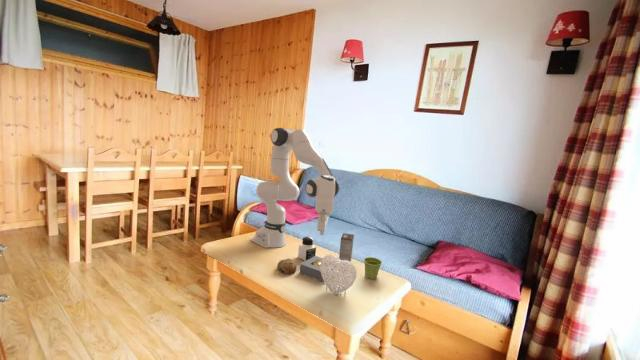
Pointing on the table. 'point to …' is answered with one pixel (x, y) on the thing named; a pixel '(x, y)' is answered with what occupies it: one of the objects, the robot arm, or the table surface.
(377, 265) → the plant pot
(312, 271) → the switch block
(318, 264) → the brass button
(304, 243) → the medicine bottle
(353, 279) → the decorative heart
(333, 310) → the table surface
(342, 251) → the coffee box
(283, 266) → the bread roll
